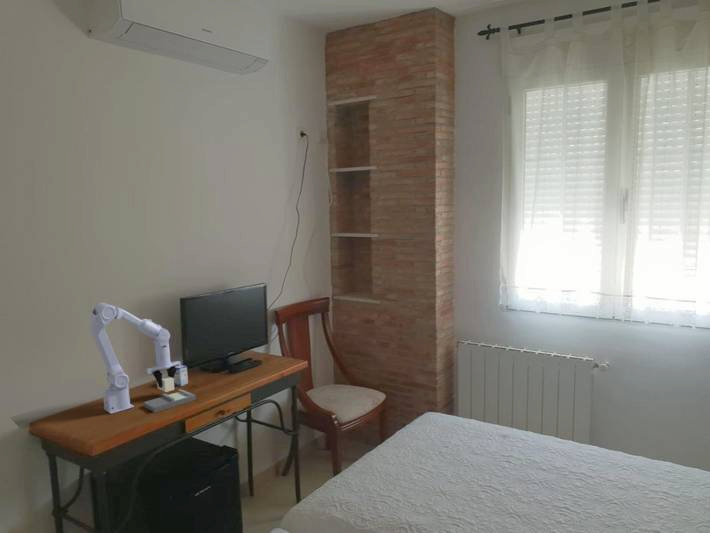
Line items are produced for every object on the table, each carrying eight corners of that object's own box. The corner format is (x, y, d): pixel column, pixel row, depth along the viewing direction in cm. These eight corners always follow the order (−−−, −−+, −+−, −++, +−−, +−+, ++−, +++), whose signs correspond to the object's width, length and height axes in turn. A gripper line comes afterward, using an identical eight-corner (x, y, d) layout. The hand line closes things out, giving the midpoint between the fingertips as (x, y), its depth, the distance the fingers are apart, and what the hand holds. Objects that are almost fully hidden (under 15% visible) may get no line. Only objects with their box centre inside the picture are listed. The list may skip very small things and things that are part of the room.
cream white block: (165, 392, 230) (164, 380, 229) (157, 388, 236) (156, 377, 235) (174, 389, 233) (173, 378, 232) (166, 385, 238) (165, 374, 238)
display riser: (154, 412, 216) (153, 404, 215) (144, 406, 223) (143, 399, 222) (195, 399, 228) (195, 392, 227) (185, 394, 235) (184, 387, 235)
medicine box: (168, 384, 250) (167, 366, 249) (176, 381, 254) (174, 363, 253) (181, 386, 247) (179, 368, 246) (188, 383, 250) (186, 365, 250)
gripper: (150, 360, 225) (153, 392, 226) (182, 352, 235) (185, 383, 236) (143, 357, 230) (146, 388, 231) (175, 350, 240) (178, 379, 241)
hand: (165, 385), depth 234 cm, fingers closed on cream white block, 4 cm apart
